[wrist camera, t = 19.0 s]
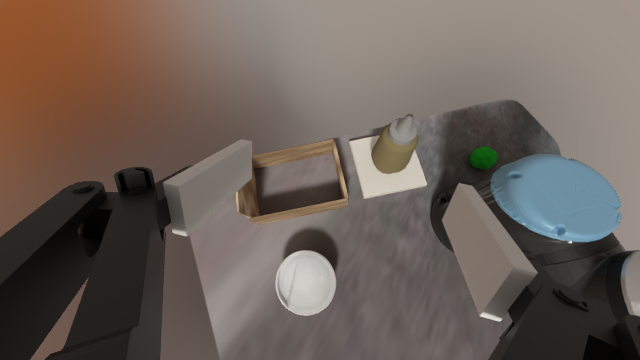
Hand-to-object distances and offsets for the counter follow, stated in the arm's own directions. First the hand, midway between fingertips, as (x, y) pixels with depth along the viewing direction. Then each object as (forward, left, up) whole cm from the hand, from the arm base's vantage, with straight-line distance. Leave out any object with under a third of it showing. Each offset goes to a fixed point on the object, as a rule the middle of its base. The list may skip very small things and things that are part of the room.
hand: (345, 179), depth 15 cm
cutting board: (+14, -14, -38) cm, 42 cm away
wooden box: (+13, +7, -38) cm, 40 cm away
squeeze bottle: (+14, -14, -37) cm, 42 cm away
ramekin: (-7, +8, -38) cm, 39 cm away
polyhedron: (+10, -34, -38) cm, 52 cm away
